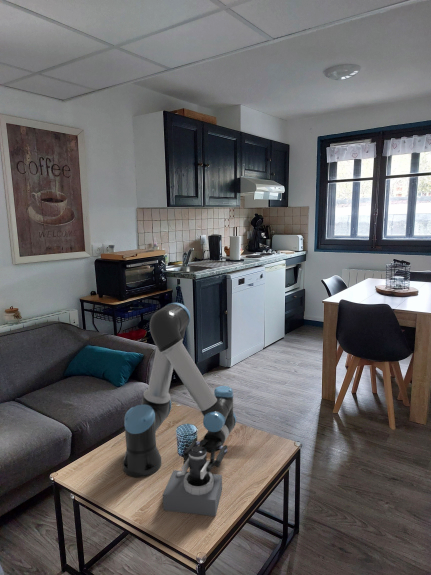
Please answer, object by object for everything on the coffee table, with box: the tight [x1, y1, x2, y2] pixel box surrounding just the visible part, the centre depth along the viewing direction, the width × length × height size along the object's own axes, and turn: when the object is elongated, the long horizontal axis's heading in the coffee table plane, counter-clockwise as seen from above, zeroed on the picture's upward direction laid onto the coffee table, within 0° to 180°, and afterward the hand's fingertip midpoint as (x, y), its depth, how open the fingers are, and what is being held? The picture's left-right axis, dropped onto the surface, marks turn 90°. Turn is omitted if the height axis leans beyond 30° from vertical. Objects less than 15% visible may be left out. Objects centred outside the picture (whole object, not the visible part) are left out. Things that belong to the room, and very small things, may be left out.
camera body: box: [162, 469, 223, 517], centre depth 138 cm, size 18×13×8 cm
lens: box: [188, 446, 208, 486], centre depth 136 cm, size 6×6×12 cm
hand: (192, 473), depth 131 cm, fingers open, 6 cm apart
